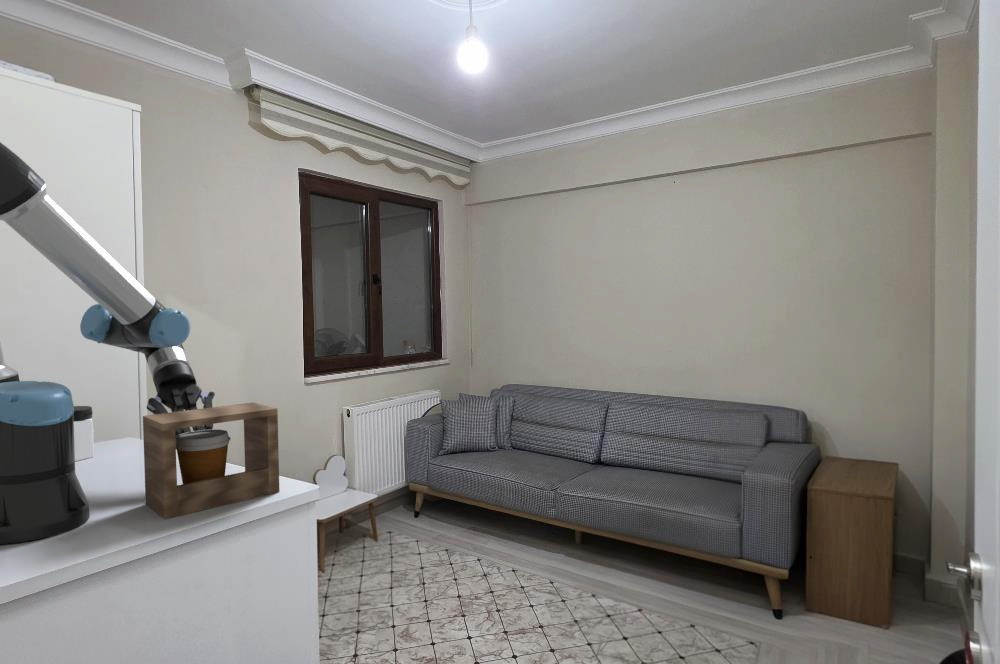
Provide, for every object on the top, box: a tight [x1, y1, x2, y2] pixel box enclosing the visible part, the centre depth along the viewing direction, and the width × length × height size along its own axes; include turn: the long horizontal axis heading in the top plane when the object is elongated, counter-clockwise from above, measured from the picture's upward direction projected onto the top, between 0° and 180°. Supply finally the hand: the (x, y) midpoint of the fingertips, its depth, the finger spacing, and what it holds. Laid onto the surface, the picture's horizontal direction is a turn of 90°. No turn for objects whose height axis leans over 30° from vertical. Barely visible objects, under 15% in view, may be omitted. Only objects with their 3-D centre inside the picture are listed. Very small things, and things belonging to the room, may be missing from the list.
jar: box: [73, 405, 95, 463], centre depth 140 cm, size 9×8×12 cm
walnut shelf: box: [142, 402, 280, 520], centre depth 110 cm, size 20×11×16 cm, turn 136°
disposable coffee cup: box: [176, 428, 231, 484], centre depth 110 cm, size 10×10×12 cm
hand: (203, 464), depth 114 cm, fingers closed
